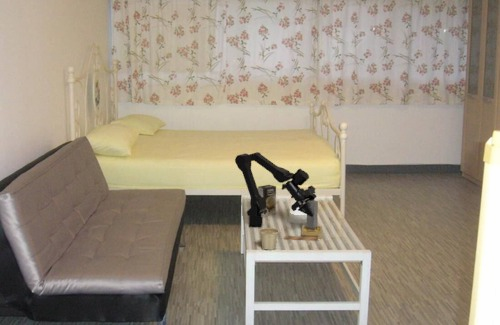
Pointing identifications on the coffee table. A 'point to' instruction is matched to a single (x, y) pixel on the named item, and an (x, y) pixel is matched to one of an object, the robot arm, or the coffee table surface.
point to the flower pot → (268, 238)
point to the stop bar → (313, 220)
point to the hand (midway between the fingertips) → (314, 215)
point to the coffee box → (268, 198)
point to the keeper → (312, 232)
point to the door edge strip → (301, 238)
